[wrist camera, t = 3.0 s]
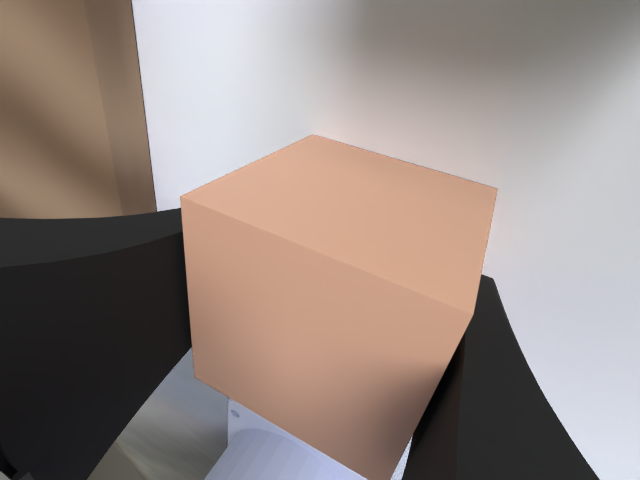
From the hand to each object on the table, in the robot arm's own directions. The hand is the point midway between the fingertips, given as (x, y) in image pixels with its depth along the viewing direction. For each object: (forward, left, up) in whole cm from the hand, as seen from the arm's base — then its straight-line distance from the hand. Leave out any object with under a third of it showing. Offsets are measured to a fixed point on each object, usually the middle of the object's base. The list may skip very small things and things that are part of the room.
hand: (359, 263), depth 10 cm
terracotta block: (0, 0, -1) cm, 1 cm away
